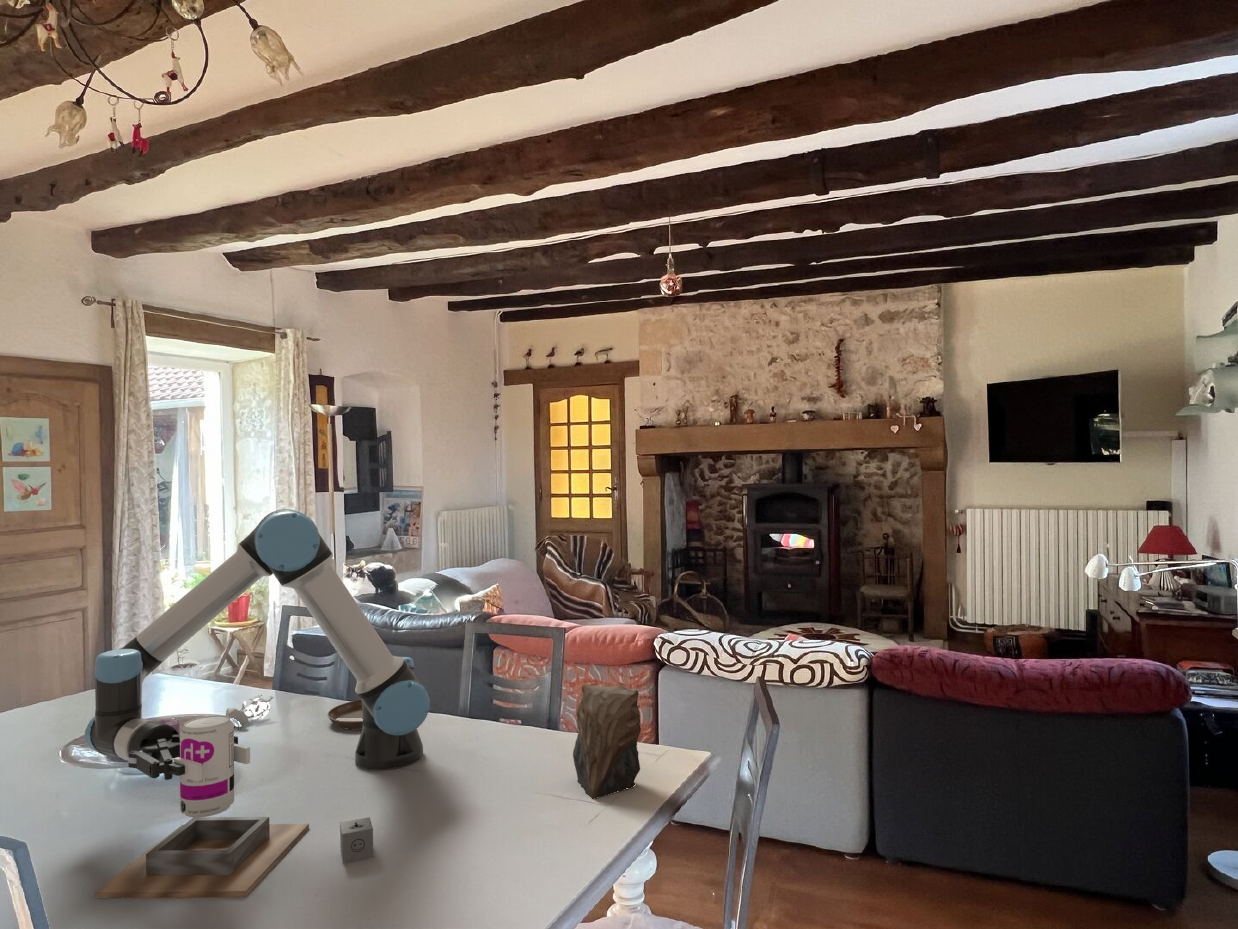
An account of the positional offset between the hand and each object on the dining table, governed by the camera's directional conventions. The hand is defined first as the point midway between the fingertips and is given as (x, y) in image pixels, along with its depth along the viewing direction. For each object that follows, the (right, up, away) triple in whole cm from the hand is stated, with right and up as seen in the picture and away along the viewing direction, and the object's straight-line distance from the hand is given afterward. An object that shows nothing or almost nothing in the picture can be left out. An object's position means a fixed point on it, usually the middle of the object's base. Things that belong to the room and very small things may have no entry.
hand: (224, 764), depth 135 cm
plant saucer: (-1, -19, +80) cm, 82 cm away
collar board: (-3, -18, +2) cm, 18 cm away
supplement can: (-4, -9, +2) cm, 10 cm away
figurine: (-33, -19, +81) cm, 89 cm away
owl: (+63, -16, +31) cm, 72 cm away
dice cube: (+21, -17, +3) cm, 28 cm away
